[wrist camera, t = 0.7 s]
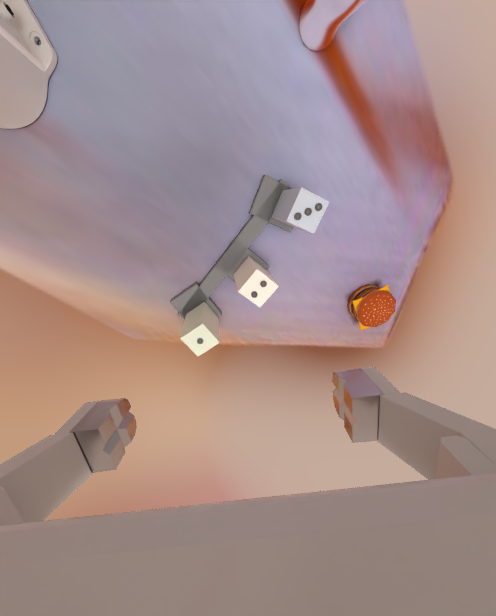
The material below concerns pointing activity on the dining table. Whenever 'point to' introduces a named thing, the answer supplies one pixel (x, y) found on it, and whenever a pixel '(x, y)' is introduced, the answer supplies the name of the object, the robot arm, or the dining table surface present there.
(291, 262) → the dining table surface
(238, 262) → the grey flat piece
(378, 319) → the hamburger
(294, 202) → the key three dots
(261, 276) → the key two dots
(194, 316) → the key one dot
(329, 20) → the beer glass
